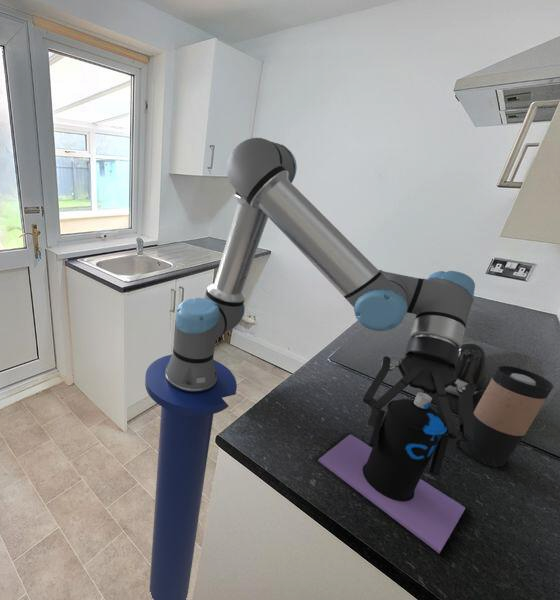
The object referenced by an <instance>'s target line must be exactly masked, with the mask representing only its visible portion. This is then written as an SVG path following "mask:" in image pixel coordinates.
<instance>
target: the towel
mask: <svg viewBox="0 0 560 600" xmlns="http://www.w3.org/2000/svg"><path fill="white" fill-rule="evenodd" d="M372 448H373V447H371V446H369V445H368V444H367V443H365V442H364V441H362V440H361V439H360V438H357V437H356V436H354V435H353V434H349V435H347V436H346V437H345V438H343V439H342V440H341V441H339V442H338V443H337V444H335V446H334V447H331V448H330V449H329V450H328V451H326V452H325V454H323V455H322V456H320V457H319V458H318V463H319V464H321V465H322V466H323V467H325V468H326V469H328V470H329V471H330V472H332V473H333V474H334V475H336V476H337V477H338V478H340V480H342V481H343V482H345V483H346V484H347V485H349V487H352V488H353V489H354V490H355V491H357V492H358V493H359V494H361V496H363V497H364V498H365V499H367V500H368V501H369V502H371V503H372V504H373V505H374V506H376V507H378V509H380V510H381V511H383V512H384V513H386V514H387V515H388V516H389V517H391V518H392V519H393V520H395V521H396V522H397V523H398V524H400V525H401V526H402V527H404V528H405V529H406V530H408V531H409V532H410V533H412V534H413V535H414V536H416V537H417V538H418V539H419V540H421V542H423V543H425V545H427V546H429V547H430V548H431V549H432V550H434V551H435V552H436V553H437V554H441V552H442V550H443V548H444V546H445V545H446V544H447V542H448V540H449V538H450V536H451V535H452V532H453V531H454V530H455V528H456V526H457V524H458V522H459V520H460V519H461V517H462V515H463V514H464V512H465V510H466V507H465V506H463V505H462V504H461V503H459V502H457V501H456V500H455V499H453V498H451V497H449V496H448V495H447V494H445V493H443V492H442V491H440V490H439V489H437V488H435V487H434V486H433V485H431V484H430V483H427V482H426V481H425V480H423V479H422V478H420V480H419V482H418V484H417V486H416V488H415V490H414V497H413V498H412V499H411V500H409V501H404V502H402V501H396V500H393V499H390V498H388V497H386V496H384V495H382V494H381V493H379V492H378V491H377V490H375V489H374V488H373V487H372V486H371V485H370V484H369V483H368V482H367V480H366V479H365V477H364V474H363V466H364V465H365V464H366V463H367V461H368V458H369V456H370V453H371V451H372Z"/></svg>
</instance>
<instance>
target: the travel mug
mask: <svg viewBox="0 0 560 600" xmlns="http://www.w3.org/2000/svg"><path fill="white" fill-rule="evenodd" d="M553 389H554V384H553V383H552V382H551V381H550V380H549V379H547V378H545V377H543V376H541V375H539V374H537V373H534V372H532V371H529V370H526V369H523V368H519V367H515V366H510V365H500V366H498V367H497V368H496V370H495V372H494V373H493V375H492V377H491V379H490V381H489V383H488V384H487V387H486V388H485V390H484V392H483V394H482V396H481V398H480V400H479V401H478V403H477V405H476V406H475V408H474V409H473V419H474V439H473V440H471V441H468V442H463V441H459V447H460V449H461V450H462V451H463V452H464V453H465V454H466V455H468V456H469V457H470V458H472V459H473V460H475V461H478V462H479V463H481V464H484V465H486V466H490V467H495V468H500V467H503V466H504V465H505V464H506V463H507V461H508V460H509V459H510V457H511V455H512V454H513V453H514V452H515V450H516V448H517V447H518V445H519V444H520V443H521V441H522V440H523V438H524V437H525V435H526V434H527V432H528V431H529V429H530V427H531V425H532V424H533V422H534V421H535V419H536V417H537V415H538V414H539V412H540V410H541V409H542V407H543V405H544V403H546V400H547V398H548V397H549V395H550V393H551V391H552V390H553Z"/></svg>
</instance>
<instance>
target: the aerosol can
mask: <svg viewBox="0 0 560 600" xmlns="http://www.w3.org/2000/svg"><path fill="white" fill-rule="evenodd" d="M432 400H433V397H432V395H431V396H430V394H428V393H426V392H417V393H416V396H415V398H414V399H409V398H401V399H395V400H390V401H389V402H388V403H387V405H386V407H387V410H386V412H385V414H384V417H383V421H382V424H381V427H380V430H379V434H378V437H377V440H376V443H375V446H374V447H371V448H372V451H371V453H370V456H369V458H368V461H367V463H366V464H365V465H364V466H363V474H364V477H365V479H366V480H367V482H368V483H369V484H370V485H371V486H372V487H373V488H374V489H375V490H377V491H378V492H379V493H381V494H382V495H384V496H386V497H388V498H390V499H393V500H396V501H402V502H404V501H409V500H411V499H412V498H413V497H414V490H415V488H416V486H417V484H418V482H419V480H420V479H422V476H423V474H424V472H425V470H426V468H427V466H428V465H429V464H428V463H429V462H430V460H431V457H433V456H432V455H434V452H435V448H436V446H437V444H438V442H439V439H440V437H441V435H442V434H444V433H445V432H446V431H447V426H446V424H445V422H444V421H443V420H442V418H441V417H440V416H439V414H438V411H437V410H435V409H433V407H431V406H430V405H431V402H432Z"/></svg>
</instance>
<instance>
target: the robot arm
mask: <svg viewBox="0 0 560 600" xmlns="http://www.w3.org/2000/svg"><path fill="white" fill-rule="evenodd" d="M226 163H227V164H226V174H227V178H228V181H229V183H230V185H231V186H232V188H233V189H234V190H235V192H234V198H235V199H236V201H237V206H236V209H235V211H234V216H233V218H232V222H231V225H230V228H229V232H228V235H227V239H226V242H225V245H224V248H223V251H222V255H221V259H220V263H219V265H218V269H217V272H216V276H215V279H214V282H213V283H211V284H209V285H207V287H206V291H205V294H204V296H203V297H195V298H188V299H185V300H183V301H182V302H180V303H179V304H178V306H177V307H176V312H175V317H174V333H173V346H172V348H173V349H172V353H171V355H172V356H171V358H170V361H169V363H168V365H167V367H166V370H165V379H166V381H167V382H168V384H169V385H170V386H172V387H173V388H175V389H177V390H179V391H182V392H185V393H192V394H198V393H204V392H207V391H210V390H211V389H213V388H214V387H215V385H216V382H217V372H216V368H215V363H214V360H215V359H214V354H215V348H216V342H217V340H218V339H219V338H220V337H221V338H222V336H224V335H225V334H226V333H227V332H229V331H230V330H232V329H234V328H236V327H237V326H238V324H240V322H241V321H242V319H243V318H244V316H245V309H246V308H245V304H244V303H245V300H246V295H245V294H244V292H243V290H244V287H245V285H246V282H247V278H248V277H249V274H250V270H251V267H252V264H253V262H254V259H255V255H256V253H257V250H258V247H259V244H260V243H261V239H262V236H263V234H264V231H265V227H266V225H267V222H268V219H269V220H270V221H271V222H272V223H273V224H274V225H275V226H276V227H277V228H278V229H279V230H280V232H282V234H283V235H284V236H285V237H287V239H289V241H290V242H291V243H292V244H293V245H294V246H295V247H296V248H297V250H299V252H300V253H302V255H304V257H305V258H306V259H307V260H308V261H309V262H310V263H311V264H312V265H313V266H314V267H315V268H316V269H317V270H318V271H319V272H320V273H321V274H322V275H323V277H325V279H326V280H327V281H328V282H329V283H330V284H331V285H332V286H333V287H334V288H335V289H336V290H337V291H338V292H339V293H340V294H341V296H342V297H344V299H345V300H346V301H347V302H348V303H349V304H350V305H351V306H352V307H353V313H354V316H355V318H356V320H357V322H358V323H359V324H360V325H361V326H363V327H364V328H366V329H369V330H371V331H375V332H385V331H390V330H393V329H396V328H397V327H398V326H399V325H400V324H401V323H403V321H404V318H405V316H406V315H407V314H413V315H415V318H414V321H413V325H412V328H411V331H410V334H409V339H408V342H407V344H406V347H405V351H404V353H403V357H402V358H400V359H399V360H398V359H392V358H390V357H389V356H386V355H385V356H383V357H382V360H381V362H380V363H381V364H380V370H378V372H377V374H376V376H375V378H374V380H373V381H372V383H371V384H370V386H369V387H368V389H367V390H366V392H365V394H364V395H363V397H362V401H363V403H364V404H367V405H368V406H369V407H370V409H371V410H370V414H369V416H368V420H367V425H368V426H370V427H372V432H371V435H370V438H369V441H368V444H367V445H368V446H370V447H371V448H373V447H374V446H375V443H376V440H377V437H378V434H379V430H380V428H381V425H382V423H383V420H384V418H385V415H386V411H385V410H383V408H384V407H385V406H387V405H388V403H389V402H391V401H393V399H394V398H395V397H396V396H397V395H399V393H401V392H402V391H404V390H405V389H406V387H408V386H409V387H411V388H414V389H420V390H422V391H424V393H427V394H428V393H429V394H431V398H432V400H433V401H434V405H435V408H436V412H437V413H438V414H439V416H440V417H441V418H442V420H443V421H444V422H445V424H446V426H447V431H446V432H445V433H444V434H442V435H441V437H440V439H439V442H438V444H437V446H436V448H435V450H434V452H433V456H432V459H431V464H430V467H429V472H428V473H429V474H430V475H432V476H434V477H435V476H440V475H441V471H442V466H443V463H444V459H448V460H449V459H452V458H453V456H454V454H455V451H456V450H455V449H456V445H457V442H460V441H463V442H468V441H471V440H473V439H474V419H473V413H474V398H473V396H474V395H475V394H474V393H475V391H476V389H477V385H476V384H474V383H466V382H464V381H461V380H459V379H457V376H456V374H455V368H456V364H457V360H458V356H459V349H460V348H461V345H462V344H463V340H464V336H465V332H466V327H467V323H468V320H469V316H470V312H471V309H472V305H473V302H474V300H475V299H474V296H475V289H476V284H475V281H474V279H473V278H472V277H471V276H469V275H468V274H466V273H464V272H461V271H456V270H448V271H445V270H439V271H435V272H433V273H431V274H430V275H429V276H428V277H427V278H420V277H415V276H409V275H405V274H400V273H394V272H390V271H389V272H388V271H385V270H384V271H383V270H382V269H379V268H377V266H375V265H374V264H373V263H372V262H371V261H370V260H369V259H368V258H367V257H366V256H365V255H364V254H363V253H362V252H361V250H360V249H358V248H357V246H355V245H354V244H353V243H352V242H351V241H350V240H349V239H348V238H347V237H346V236H345V235H344V234H343V233H342V231H340V230H339V228H337V227H336V226H335V225H334V224H333V223H332V222H331V221H330V220H329V219H328V217H326V216H325V215H324V214H323V213H322V212H321V211H320V210H319V209H318V208H317V207H316V205H314V204H313V203H312V202H311V201H310V200H309V199H308V198H307V197H306V196H305V195H304V194H303V193H302V192H301V191H300V190H299V189H298V188H297V187H296V186H295V185H294V184H293V181H294V180H295V177H296V175H297V169H298V167H297V165H298V164H297V160H296V157H295V155H294V154H293V153H292V151H291V150H290V149H289V148H288V147H286V146H285V145H284V144H280V143H278V142H274V141H271V140H269V139H266V138H263V137H250V138H247V139H245V140H243V141H241V142H240V143H239V144H238V145H236V146H235V148H233V150H232V151H231V153H230V155H229V157H228V159H227V162H226ZM396 368H398V369H399V372H400V373H401V376H402V378H400V380H399V381H398V382H396V383H395V384H394V385H393V386H392V387H390V389H388V390H387V391H386V392H385V393H384V394H383V395H382V396H380V398H378V399H377V400H376V399H374V397H375V394H376V393H377V391H378V390H379V388H380V386H381V385H382V383H383V381H384V380H385V378H386V377H387V375H388V373H389V371H390V372H391V371H393V370H394V369H396ZM452 384H453V385H455V386H456V391H457V392H458V393H459V394H460V395H459V396H458V429H457V426H456V422H455V419H454V416H453V413H452V409H451V406H450V403H449V400H448V392H446V390H445V388H446V387H448V386H450V385H452ZM473 394H474V395H473Z"/></svg>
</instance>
